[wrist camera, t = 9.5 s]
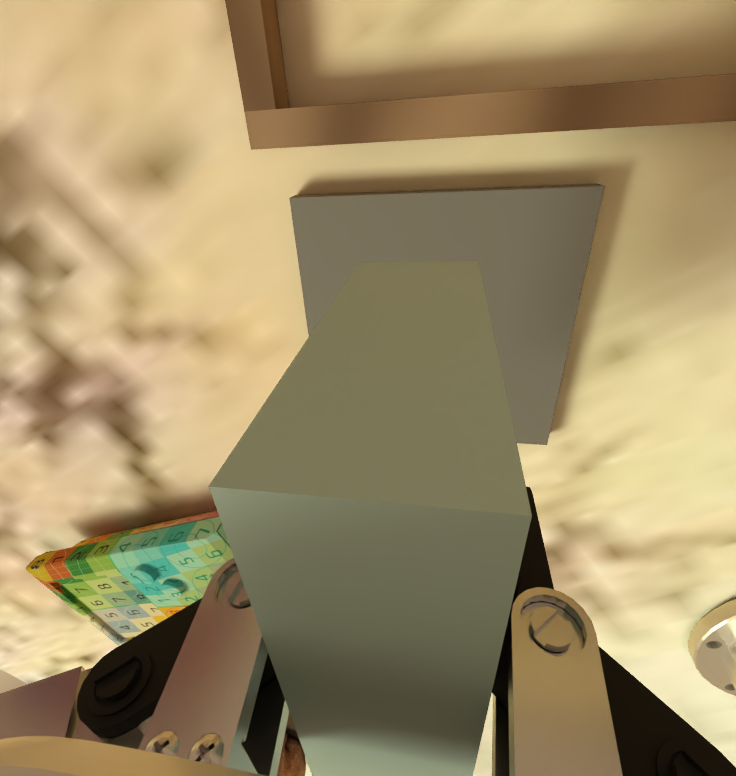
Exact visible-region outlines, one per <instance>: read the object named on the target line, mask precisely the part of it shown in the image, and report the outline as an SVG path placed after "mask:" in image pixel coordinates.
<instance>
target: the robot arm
mask: <svg viewBox="0 0 736 776" xmlns="http://www.w3.org/2000/svg"><path fill="white" fill-rule="evenodd" d="M526 490H527V495H528V499H529V504H530V509H531V514H532V518H531V522H530V526H529V531H528V535H527V540H526V544H525V548H524V553H523V557H522V561H521V566H520V570H519V575H518V579H517V583H516V588H515V592H514V596H513V601H512V605H511V610H510V614H509V618H508V623H507V627H506V631H505V636H504V640H503V645H502V649H501V653H500V658H499V662H498V667H497V671H496V675H495V680H494V684H493V688H492V693H493V736H492V776H736V768H735V767H734V766H733V764H732V763H731V762H730V761H729V760H728V759H727V758H726V757H725V756H724V755H723V754H722V753H721V752H720V751H719V750H718V749H716V748H715V747H714V746H713V745H712V744H711V743H710V742H708V741H707V740H706V739H705V738H704V737H703V736H702V735H700V734H699V733H698V732H697V731H696V730H695V729H693V728H692V727H691V726H690V725H689V724H688V723H687V722H685V721H684V720H683V719H682V718H681V717H680V716H679V715H677V714H676V713H675V712H674V711H673V710H672V709H670V708H669V707H668V706H667V705H666V704H665V703H664V702H662V701H661V700H660V699H659V698H658V697H657V696H656V695H654V694H653V693H652V692H651V691H650V690H649V689H647V688H646V687H645V686H644V685H643V684H642V683H641V682H639V681H638V680H637V679H636V678H635V677H634V676H633V675H631V674H630V673H629V672H628V671H627V670H626V669H624V668H623V667H622V666H621V665H620V664H619V663H618V662H616V661H615V660H614V659H613V658H612V657H611V656H609V655H608V654H607V653H606V652H605V651H604V650H603V649H601V648H600V647H599V646H598V642H597V637H596V632H595V629H594V627H593V624H592V621H591V619H590V618H589V616H588V615H587V613H586V612H585V610H584V609H583V608H582V607H581V606H580V605H579V604H578V603H577V602H575V601H574V600H573V599H572V598H570V597H569V596H567V595H565V594H564V593H562V592H559V591H556V590H554V587H553V583H552V578H551V574H550V570H549V565H548V561H547V556H546V552H545V547H544V543H543V538H542V534H541V530H540V525H539V521H538V516H537V512H536V507H535V503H534V498H533V494H532V491H531V489H530V487H526ZM688 648H689V653H690V655H691V657H692V659H693V662H694V664H695V667H696V668H697V670H698V671H699V673H700V674H701V675H702V677H704V678H705V679H706V680H707V681H708V682H710V683H711V684H712V685H714V686H716V687H717V688H719V689H721V690H723V691H725V692H727V693H730V694H733V695H735V696H736V599H734V600H731V601H729V602H726V603H725V604H723V605H721V606H719V607H718V608H716V609H714V610H712V611H711V612H709V613H708V614H707V615H706V616H705V617H703V618H702V619H701V620H700V621H699V622H698V623H697V625H696V626H695V627H694V629H693V630H692V631H691V634H690V637H689V640H688ZM288 715H289V709H288V706H287V704H286V701H285V698H284V695H283V692H282V690H281V687H280V684H279V681H278V679H277V676H276V673H275V670H274V667H273V665H272V662H271V659H270V656H269V654H268V651H267V648H266V645H265V642H264V640H263V637H262V634H261V631H260V628H259V626H258V623H257V620H256V617H255V615H254V612H253V609H252V606H251V603H250V601H249V598H248V595H247V592H246V589H245V587H244V584H243V581H242V578H241V576H240V573H239V570H238V567H237V564H236V562H235V559H234V558H232V559H231V560H229V561H228V562H226V563H224V564H223V565H222V566H221V567H220V568H219V569H218V570H217V571H216V572H215V573H214V575H213V577H212V578H211V580H210V582H209V584H208V586H207V589H206V591H205V593H204V596H203V598H201V599H199V600H197V601H196V602H194V603H192V604H191V605H189V606H187V607H185V608H184V609H182V610H180V611H179V612H177V613H175V614H173V615H172V616H170V617H168V618H167V619H165V620H163V621H161V622H160V623H158V624H156V625H155V626H153V627H151V628H149V629H148V630H146V631H144V632H142V633H141V634H139V635H137V636H136V637H134V638H132V639H130V640H129V641H127V642H125V643H124V644H122V645H120V646H118V647H117V648H115V649H114V650H112V651H111V652H109V653H108V654H107V655H105V656H104V657H103V658H102V659H101V660H100V661H99V662H98V663H97V664H96V665H95V666H94V667H93V668H91V669H88V670H85V669H84V668H83V667H82V666H81V667H78V668H75V669H72V670H69V671H66V672H63V673H60V674H57V675H54V676H51V677H49V678H46V679H43V680H40V681H37V682H34V683H31V684H28V685H25V686H22V687H19V688H16V689H13V690H10V691H7V692H4V693H1V694H0V776H277V772H278V767H279V762H280V757H281V751H282V746H283V741H284V736H285V731H286V725H287V720H288Z"/></svg>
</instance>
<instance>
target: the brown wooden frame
mask: <svg viewBox="0 0 736 776" xmlns="http://www.w3.org/2000/svg"><path fill="white" fill-rule="evenodd" d="M225 2H226V8H227V13H228V19H229V25H230V31H231V36H232V42H233V48H234V54H235V59H236V65H237V71H238V77H239V82H240V88H241V94H242V100H243V105H244V111H245V117H246V122H247V128H248V134H249V140H250V145H251V150H252V149H269V148H285V147H302V146H319V145H336V144H352V143H369V142H386V141H403V140H419V139H436V138H453V137H470V136H486V135H503V134H520V133H537V132H553V131H570V130H587V129H603V128H620V127H637V126H654V125H670V124H687V123H704V122H721V121H736V74H724V75H711V76H698V77H685V78H672V79H659V80H646V81H633V82H621V83H608V84H595V85H582V86H569V87H556V88H543V89H530V90H517V91H504V92H491V93H479V94H466V95H453V96H440V97H427V98H414V99H401V100H388V101H375V102H362V103H349V104H336V105H324V106H311V107H298V108H289V103H288V95H287V87H286V79H285V71H284V63H283V55H282V48H281V40H280V32H279V24H278V16H277V8H276V0H225Z"/></svg>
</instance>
